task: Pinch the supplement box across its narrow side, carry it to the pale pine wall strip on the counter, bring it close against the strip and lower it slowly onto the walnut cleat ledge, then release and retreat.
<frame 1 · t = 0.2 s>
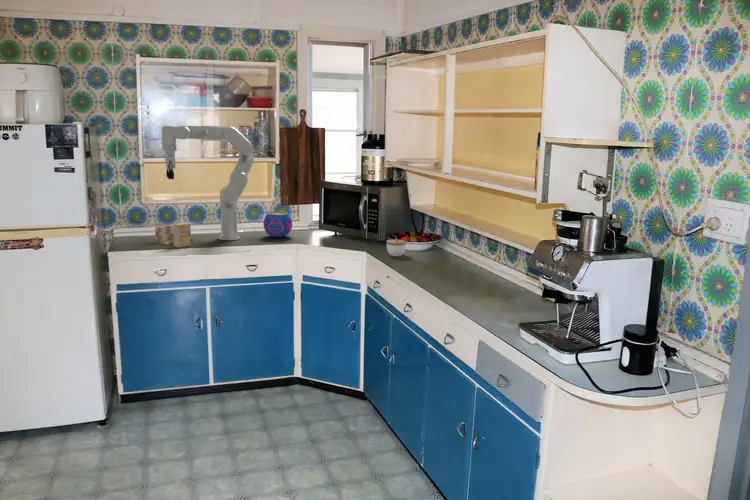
hand: (170, 178, 370), 37 cm above the worktop, tool pointing down, fingers open, 9 cm apart
ceramic pot: (278, 237, 399), on the worktop
supplement box: (182, 246, 364), on the worktop
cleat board: (168, 240, 377), on the worktop
lidded jar: (395, 255, 357), on the worktop
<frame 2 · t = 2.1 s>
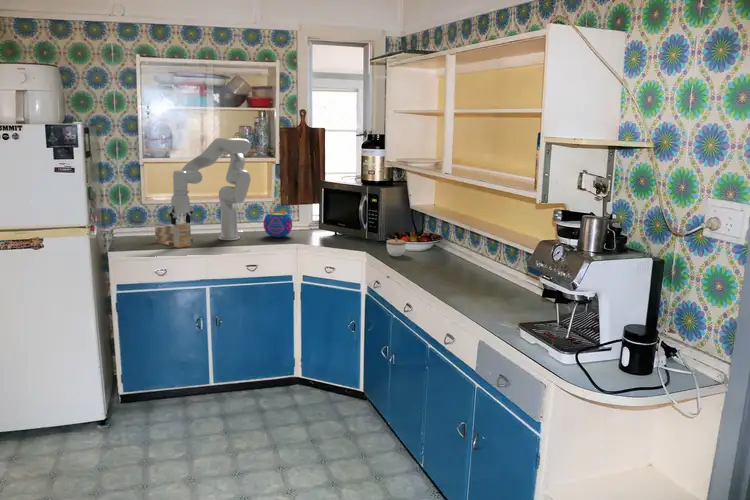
hand: (180, 223, 361), 13 cm above the worktop, tool pointing down, fingers open, 9 cm apart
supplement box: (182, 246, 364), on the worktop, touching gripper
everything else where it was.
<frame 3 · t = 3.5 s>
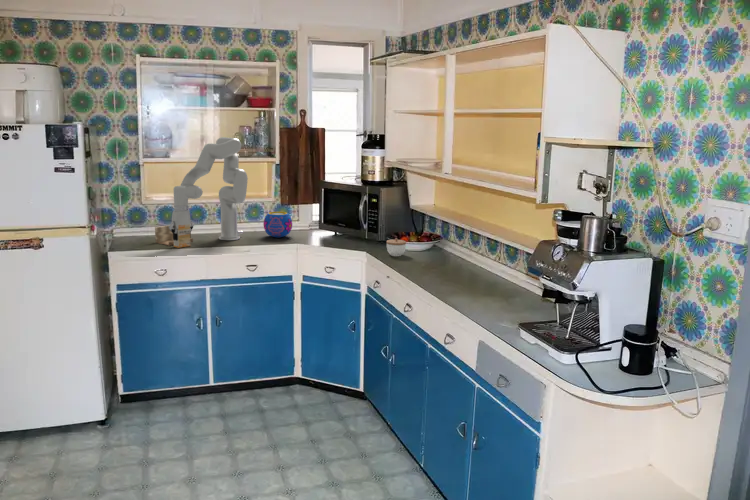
hand: (182, 239, 363), 4 cm above the worktop, tool pointing down, fingers closed on supplement box, 8 cm apart
supplement box: (182, 246, 364), on the worktop, touching gripper
everything else where it was.
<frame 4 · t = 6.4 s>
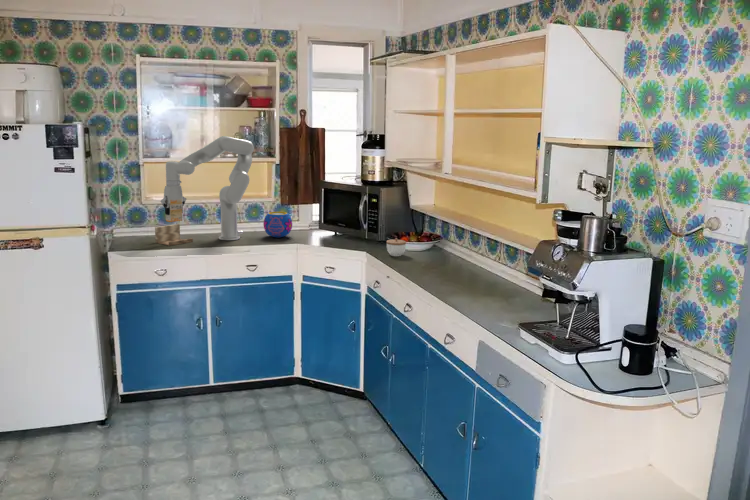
hand: (174, 213, 370), 17 cm above the worktop, tool pointing down, fingers closed on supplement box, 8 cm apart
supplement box: (174, 221, 371), point 12 cm above the worktop, touching gripper
everything else where it was.
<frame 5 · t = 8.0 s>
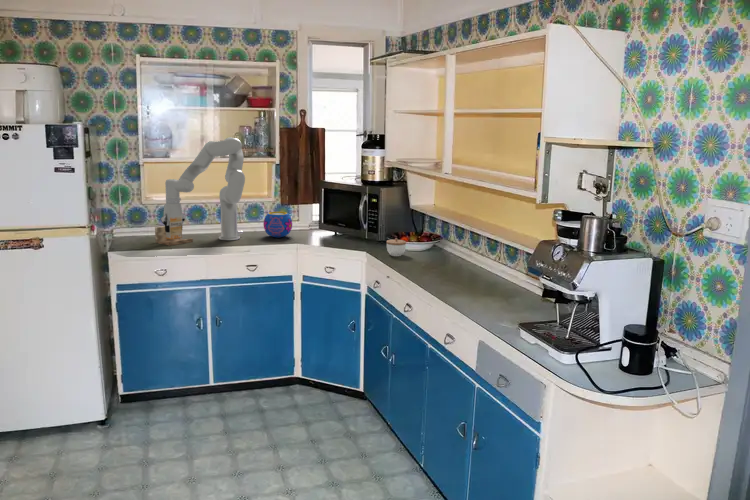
hand: (173, 231, 373), 7 cm above the worktop, tool pointing down, fingers closed on supplement box, 8 cm apart
supplement box: (174, 238, 374), point 2 cm above the worktop, touching gripper
everything else where it was.
when the fingers open (5 cm above the worktop, at t = 9.2 s): supplement box stays where it is, resting on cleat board.
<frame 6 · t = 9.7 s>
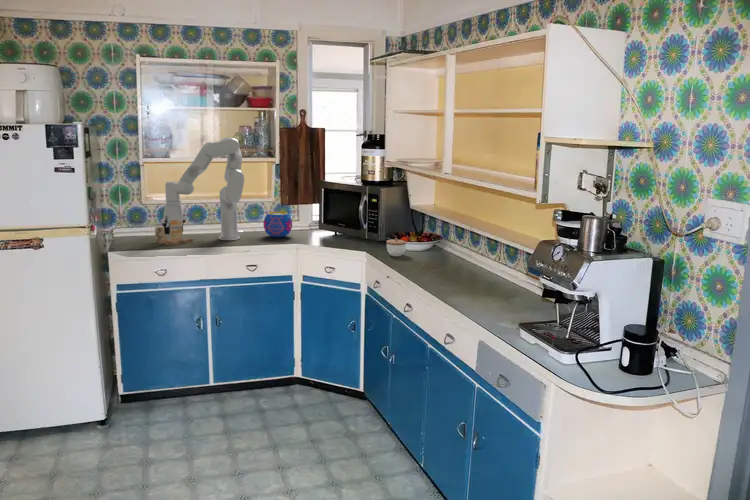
hand: (174, 232, 373), 6 cm above the worktop, tool pointing down, fingers open, 9 cm apart
supplement box: (174, 241, 374), resting on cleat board
everything else where it was.
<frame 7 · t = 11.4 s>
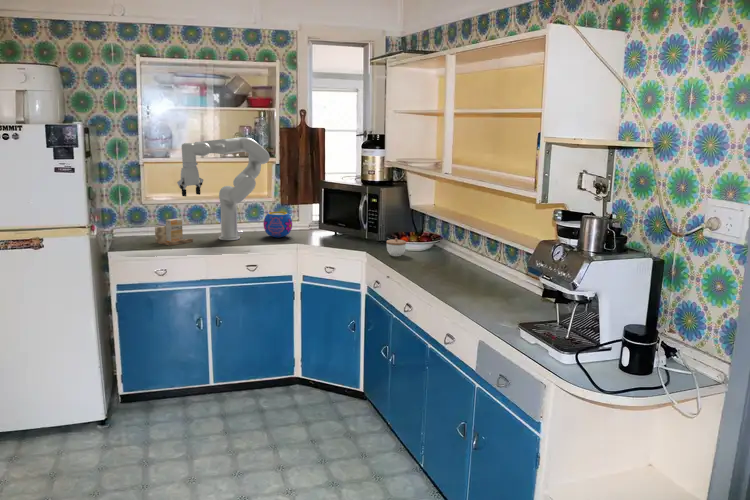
hand: (191, 195, 370), 27 cm above the worktop, tool pointing down, fingers open, 9 cm apart
nothing on the worktop moved.
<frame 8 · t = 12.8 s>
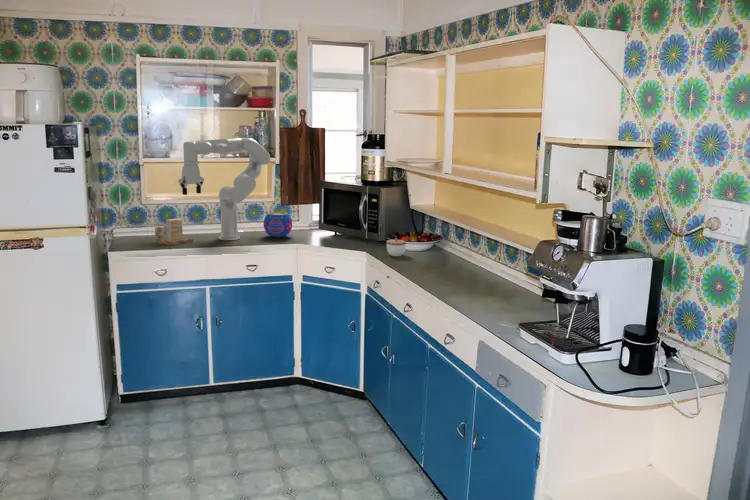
hand: (191, 193, 369), 28 cm above the worktop, tool pointing down, fingers open, 9 cm apart
nothing on the worktop moved.
at the end: supplement box inside the target area (0.3 cm from its centre), resting on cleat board; supplement box tilted 0°; the gripper is holding nothing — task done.
